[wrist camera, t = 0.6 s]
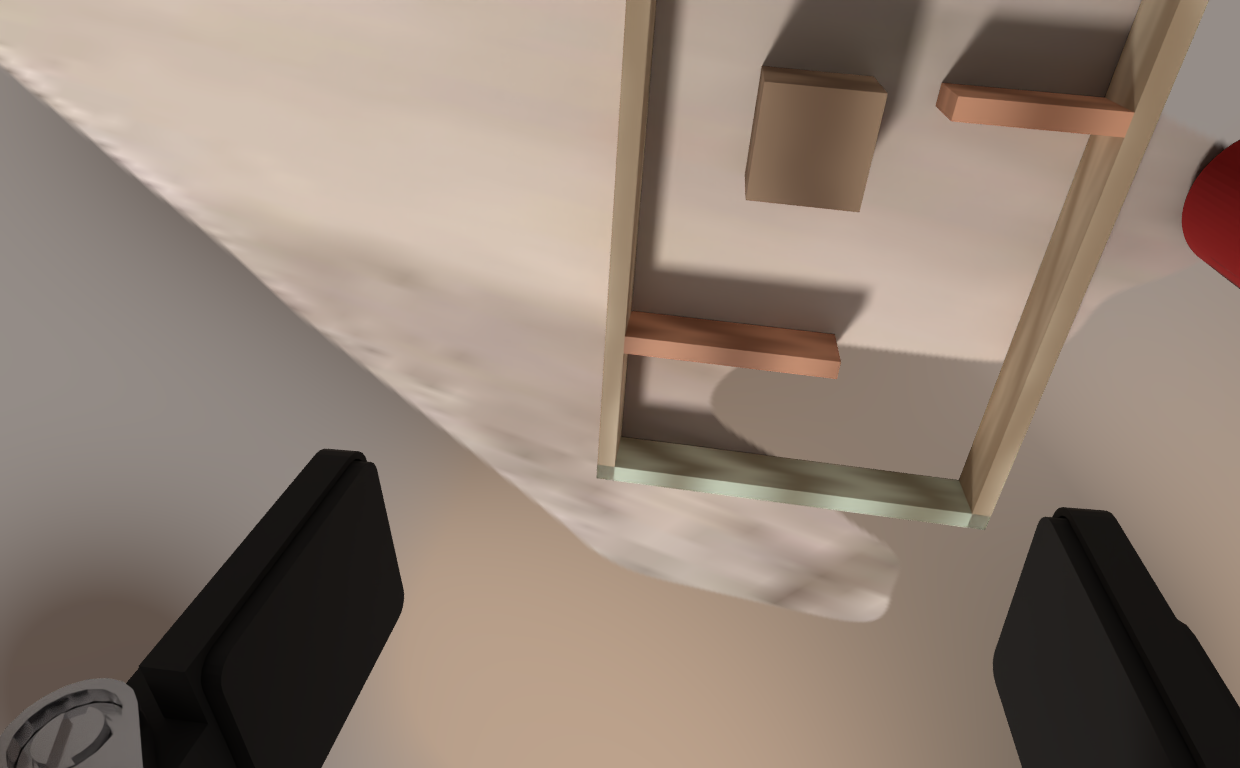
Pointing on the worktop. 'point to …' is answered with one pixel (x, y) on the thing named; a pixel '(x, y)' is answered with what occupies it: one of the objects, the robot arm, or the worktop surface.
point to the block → (813, 138)
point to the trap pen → (1023, 377)
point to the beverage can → (1216, 214)
